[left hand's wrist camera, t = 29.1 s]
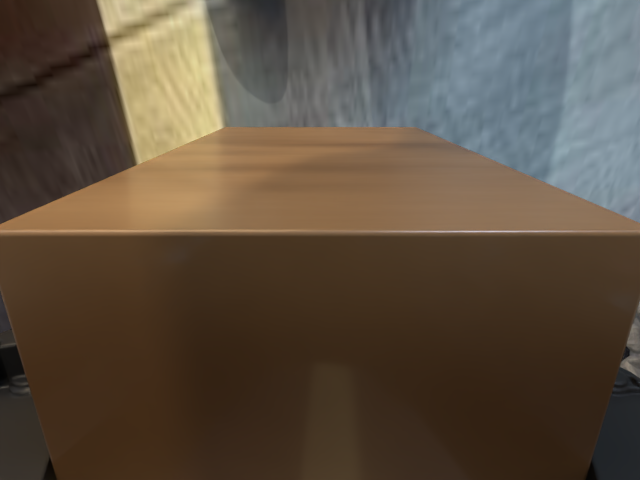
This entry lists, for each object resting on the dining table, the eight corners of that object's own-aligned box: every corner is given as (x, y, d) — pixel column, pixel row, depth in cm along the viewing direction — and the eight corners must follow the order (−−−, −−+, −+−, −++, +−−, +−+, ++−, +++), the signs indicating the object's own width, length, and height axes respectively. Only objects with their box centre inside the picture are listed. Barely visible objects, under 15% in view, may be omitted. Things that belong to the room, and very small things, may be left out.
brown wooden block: (400, 337, 18) (518, 706, 7) (240, 337, 18) (123, 706, 7) (417, 127, 15) (664, 231, 4) (223, 127, 15) (-21, 231, 4)
